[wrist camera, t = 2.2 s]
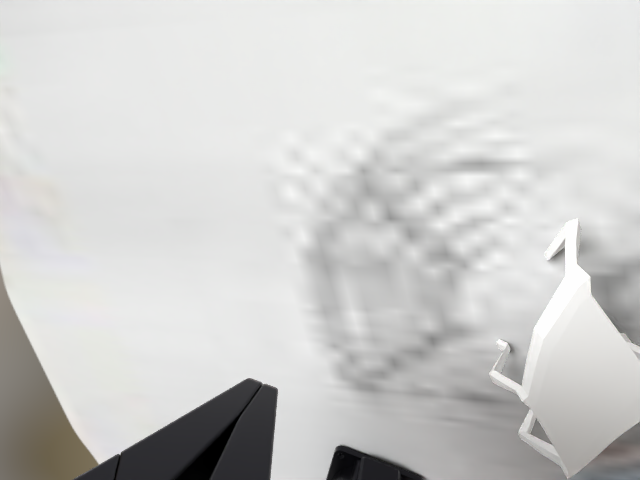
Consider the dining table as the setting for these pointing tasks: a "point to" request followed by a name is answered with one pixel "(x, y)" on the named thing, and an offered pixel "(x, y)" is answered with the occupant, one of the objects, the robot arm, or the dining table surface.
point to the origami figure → (575, 370)
